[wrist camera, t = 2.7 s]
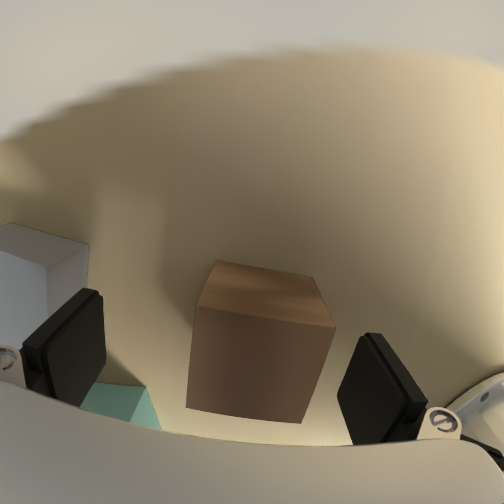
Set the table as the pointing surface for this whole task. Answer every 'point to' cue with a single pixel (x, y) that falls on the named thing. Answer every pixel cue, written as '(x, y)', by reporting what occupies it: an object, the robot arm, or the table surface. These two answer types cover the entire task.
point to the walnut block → (257, 344)
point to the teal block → (122, 403)
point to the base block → (36, 279)
